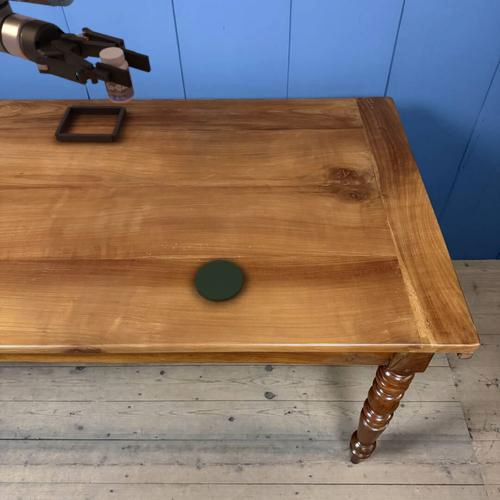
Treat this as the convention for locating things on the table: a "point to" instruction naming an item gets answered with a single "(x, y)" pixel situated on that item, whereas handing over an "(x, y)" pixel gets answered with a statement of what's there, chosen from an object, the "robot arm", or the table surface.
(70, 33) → the robot arm
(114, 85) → the pill bottle
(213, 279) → the mat
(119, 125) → the dark brown rectangular frame
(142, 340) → the table surface
